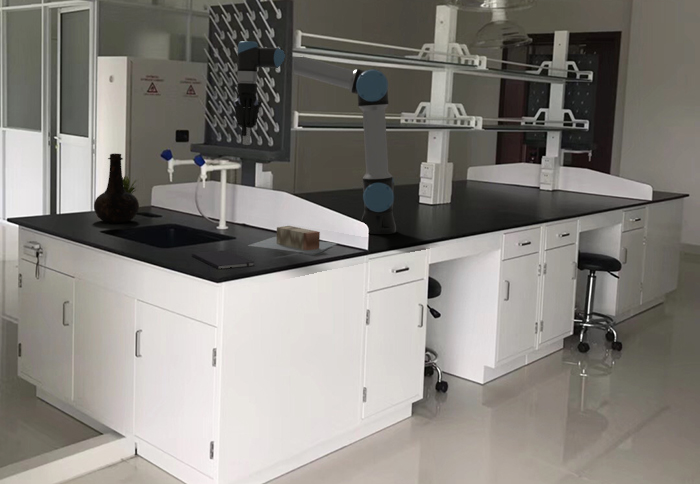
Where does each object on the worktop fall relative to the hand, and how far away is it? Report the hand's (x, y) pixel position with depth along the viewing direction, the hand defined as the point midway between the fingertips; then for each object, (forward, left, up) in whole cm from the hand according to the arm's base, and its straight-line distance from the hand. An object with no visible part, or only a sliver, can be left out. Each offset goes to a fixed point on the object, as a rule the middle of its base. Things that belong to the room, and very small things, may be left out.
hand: (246, 144), depth 304 cm
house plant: (-20, -75, -35) cm, 85 cm away
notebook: (+52, +21, -35) cm, 66 cm away
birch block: (+16, +25, -31) cm, 43 cm away
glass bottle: (+10, -55, -35) cm, 66 cm away
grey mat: (+17, +30, -34) cm, 49 cm away
